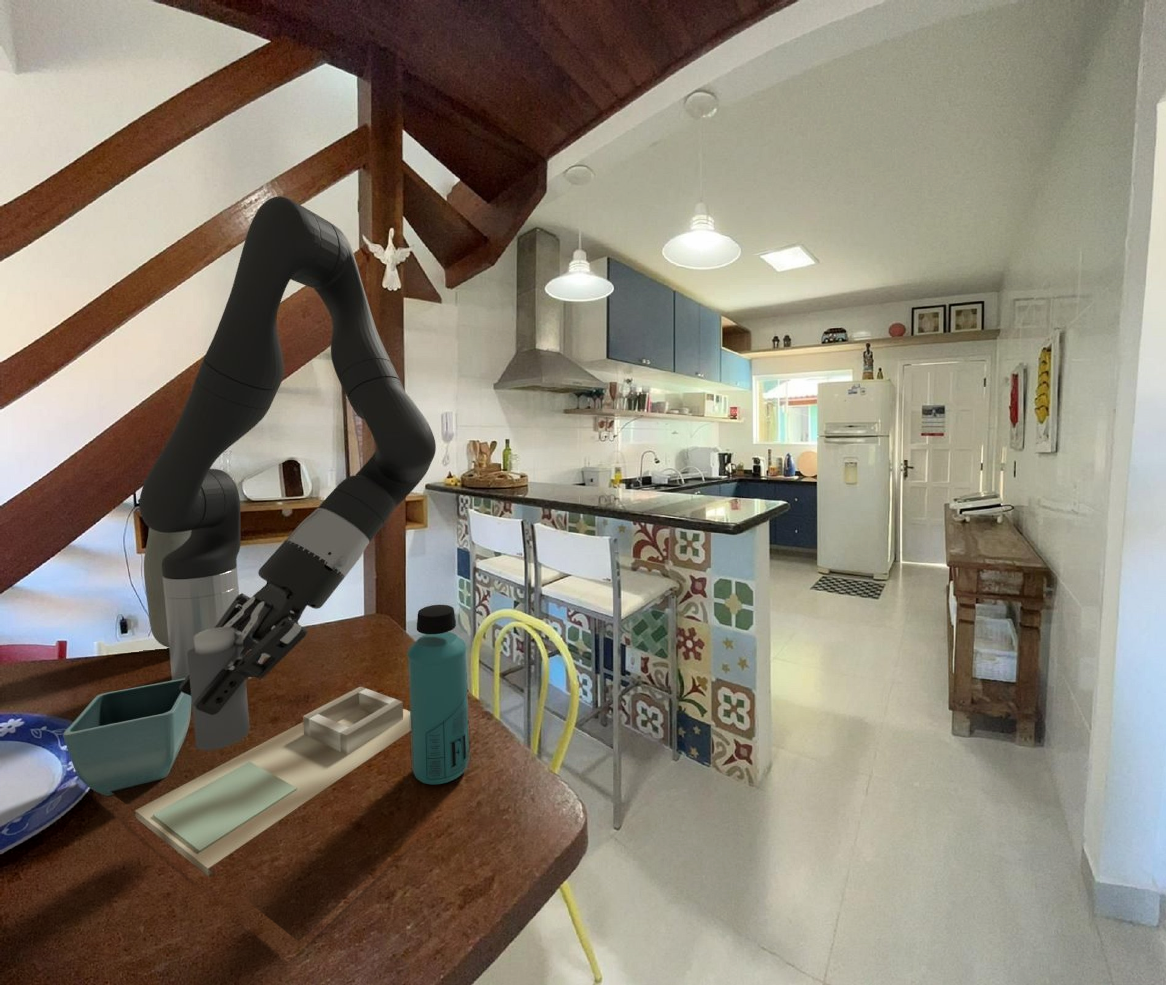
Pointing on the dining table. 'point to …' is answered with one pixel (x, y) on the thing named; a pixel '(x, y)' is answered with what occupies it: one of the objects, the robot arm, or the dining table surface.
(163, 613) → the grey tall rounded piece
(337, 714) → the cream tray
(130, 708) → the flower pot
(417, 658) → the beverage bottle
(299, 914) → the dining table surface
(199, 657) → the grey capped cylinder
